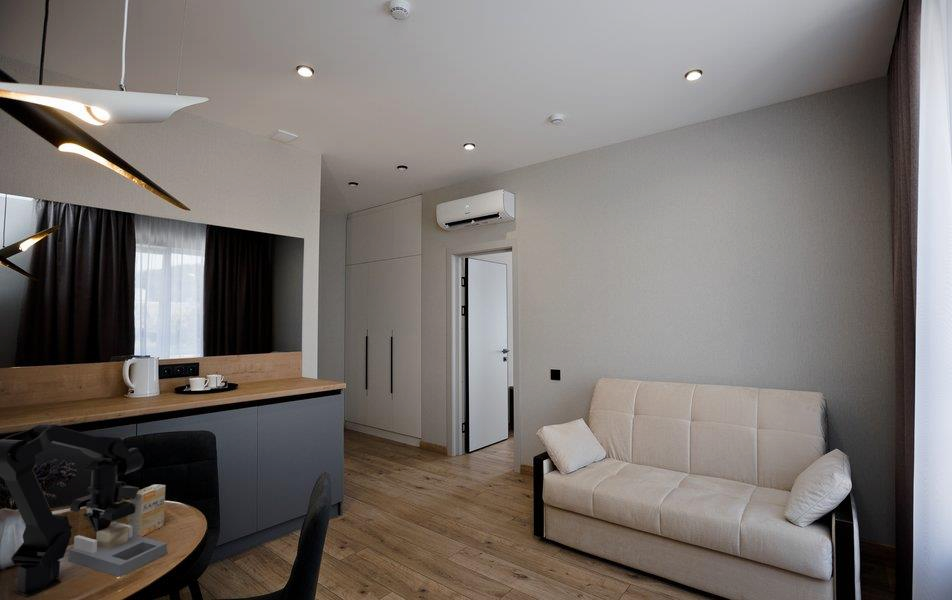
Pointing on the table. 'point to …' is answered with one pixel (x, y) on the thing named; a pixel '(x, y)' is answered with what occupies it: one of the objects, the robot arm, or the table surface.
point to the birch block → (112, 536)
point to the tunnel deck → (117, 553)
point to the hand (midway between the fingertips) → (101, 537)
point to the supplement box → (148, 510)
